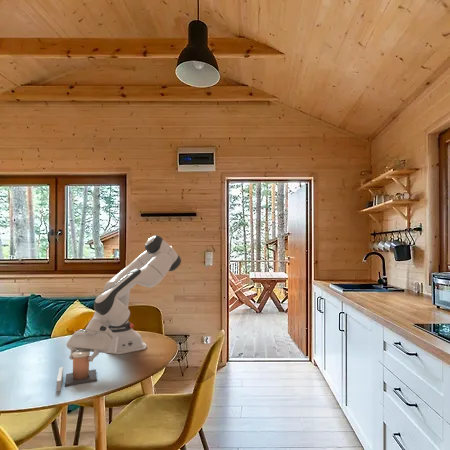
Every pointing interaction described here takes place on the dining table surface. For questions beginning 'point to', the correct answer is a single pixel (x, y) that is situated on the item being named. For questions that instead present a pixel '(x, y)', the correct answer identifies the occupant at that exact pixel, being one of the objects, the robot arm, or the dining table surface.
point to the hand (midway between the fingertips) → (80, 360)
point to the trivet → (71, 381)
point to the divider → (59, 379)
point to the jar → (80, 364)
